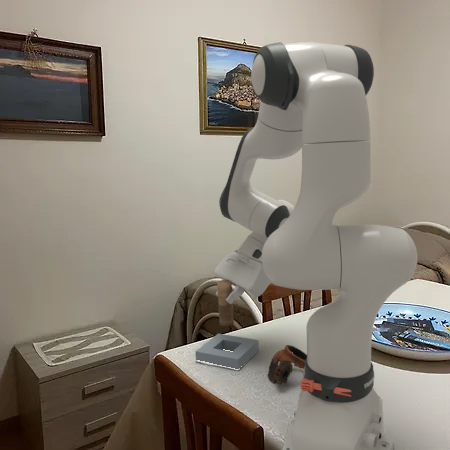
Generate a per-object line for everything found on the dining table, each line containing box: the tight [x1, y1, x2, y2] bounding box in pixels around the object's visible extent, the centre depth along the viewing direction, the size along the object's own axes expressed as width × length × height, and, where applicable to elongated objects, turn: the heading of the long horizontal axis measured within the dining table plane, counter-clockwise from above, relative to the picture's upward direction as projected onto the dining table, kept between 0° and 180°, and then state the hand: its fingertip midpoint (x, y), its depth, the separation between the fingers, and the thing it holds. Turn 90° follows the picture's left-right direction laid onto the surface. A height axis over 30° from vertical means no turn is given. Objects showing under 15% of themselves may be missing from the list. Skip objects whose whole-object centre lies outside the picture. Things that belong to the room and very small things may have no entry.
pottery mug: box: [267, 344, 307, 384], centre depth 104 cm, size 12×10×8 cm
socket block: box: [195, 333, 260, 369], centre depth 117 cm, size 12×12×3 cm
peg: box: [216, 279, 235, 327], centre depth 115 cm, size 4×4×11 cm
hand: (222, 299), depth 115 cm, fingers closed on peg, 4 cm apart
